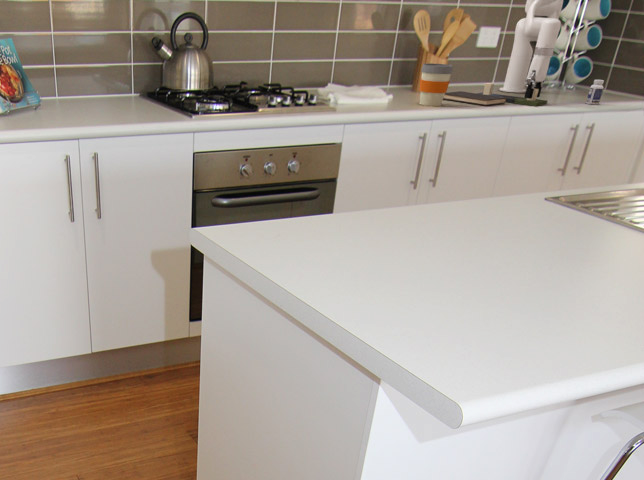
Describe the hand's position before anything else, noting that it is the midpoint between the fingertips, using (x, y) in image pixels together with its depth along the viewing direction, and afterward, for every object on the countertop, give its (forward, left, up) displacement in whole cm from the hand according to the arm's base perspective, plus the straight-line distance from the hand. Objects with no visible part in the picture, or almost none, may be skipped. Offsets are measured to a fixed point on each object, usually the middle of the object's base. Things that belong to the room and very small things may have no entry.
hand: (531, 97), depth 321 cm
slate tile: (0, -19, -3) cm, 19 cm away
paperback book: (+18, -19, -2) cm, 26 cm away
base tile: (0, -10, -3) cm, 11 cm away
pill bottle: (-28, +17, -3) cm, 33 cm away
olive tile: (0, -1, -3) cm, 3 cm away
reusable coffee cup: (+45, -25, -3) cm, 51 cm away
